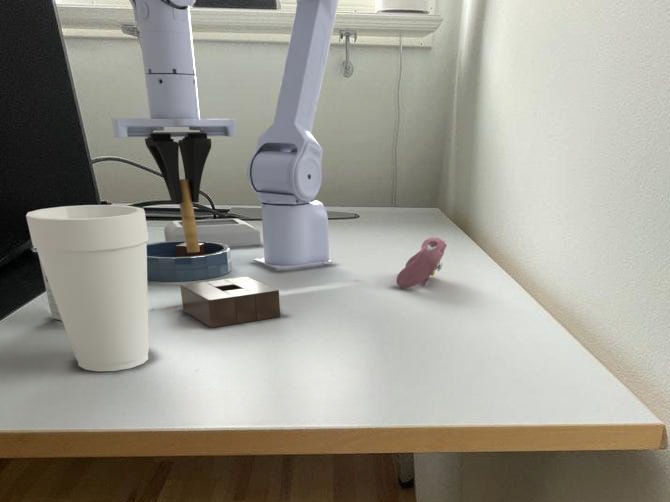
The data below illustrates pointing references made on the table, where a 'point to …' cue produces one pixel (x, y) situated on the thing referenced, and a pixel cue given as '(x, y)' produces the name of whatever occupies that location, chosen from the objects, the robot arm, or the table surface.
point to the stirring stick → (188, 218)
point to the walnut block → (182, 252)
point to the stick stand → (230, 301)
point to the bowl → (186, 262)
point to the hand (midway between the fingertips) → (184, 202)
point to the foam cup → (97, 280)
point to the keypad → (217, 232)
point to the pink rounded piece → (422, 263)
